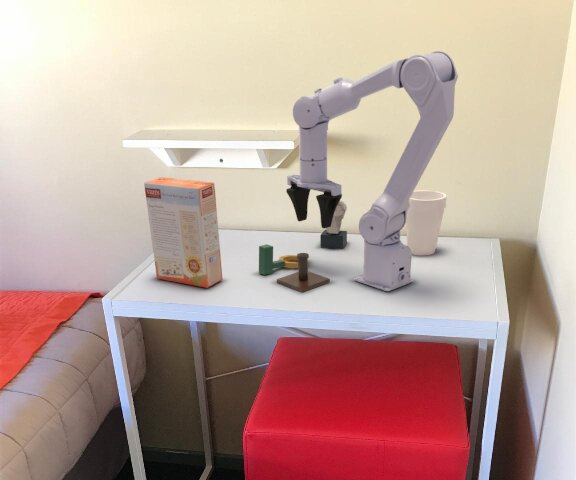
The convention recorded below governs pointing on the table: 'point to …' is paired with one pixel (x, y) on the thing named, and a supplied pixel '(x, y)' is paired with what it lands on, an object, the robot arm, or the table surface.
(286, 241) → the table surface
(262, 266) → the octagonal ring with handle
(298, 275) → the peg stand
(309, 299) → the table surface
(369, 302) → the table surface
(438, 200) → the foam cup
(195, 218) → the cracker box
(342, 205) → the bust statue
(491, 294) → the table surface
